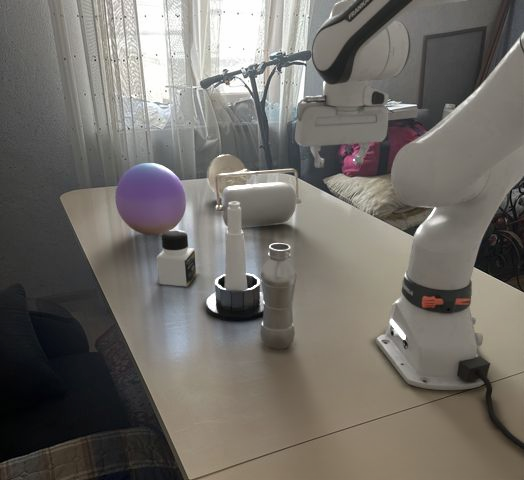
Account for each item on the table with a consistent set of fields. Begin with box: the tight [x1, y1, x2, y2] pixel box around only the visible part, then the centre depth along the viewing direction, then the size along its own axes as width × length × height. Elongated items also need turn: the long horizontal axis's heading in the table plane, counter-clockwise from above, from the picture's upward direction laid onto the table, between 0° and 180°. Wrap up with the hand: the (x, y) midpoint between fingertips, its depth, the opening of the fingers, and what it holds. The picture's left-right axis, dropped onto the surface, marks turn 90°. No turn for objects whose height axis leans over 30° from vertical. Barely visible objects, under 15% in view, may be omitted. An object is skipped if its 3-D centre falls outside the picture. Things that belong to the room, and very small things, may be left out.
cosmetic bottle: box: [224, 202, 248, 290], centre depth 106 cm, size 6×6×22 cm
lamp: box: [206, 154, 302, 229], centre depth 167 cm, size 27×23×40 cm
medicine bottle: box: [156, 229, 197, 288], centre depth 122 cm, size 7×7×12 cm
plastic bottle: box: [259, 242, 298, 350], centre depth 95 cm, size 6×7×20 cm
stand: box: [205, 272, 264, 323], centre depth 112 cm, size 14×14×6 cm
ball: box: [114, 162, 187, 237], centre depth 147 cm, size 20×20×20 cm
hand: (338, 165), depth 111 cm, fingers open, 8 cm apart
